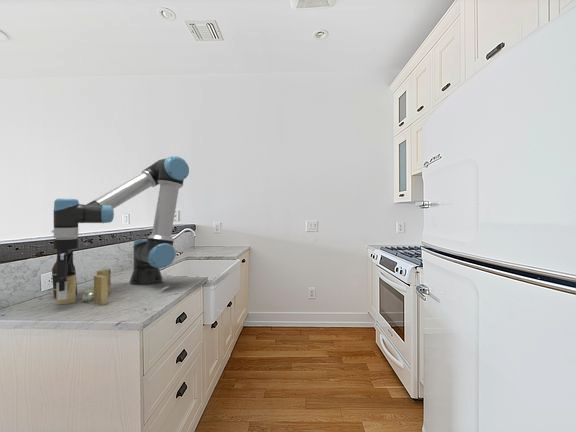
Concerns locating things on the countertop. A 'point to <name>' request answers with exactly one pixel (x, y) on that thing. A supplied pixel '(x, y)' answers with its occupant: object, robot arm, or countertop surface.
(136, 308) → the countertop surface
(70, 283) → the tan rectangular block
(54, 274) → the beer bottle
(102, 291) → the knob
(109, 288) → the knob
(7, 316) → the countertop surface
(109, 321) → the countertop surface
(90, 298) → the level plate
